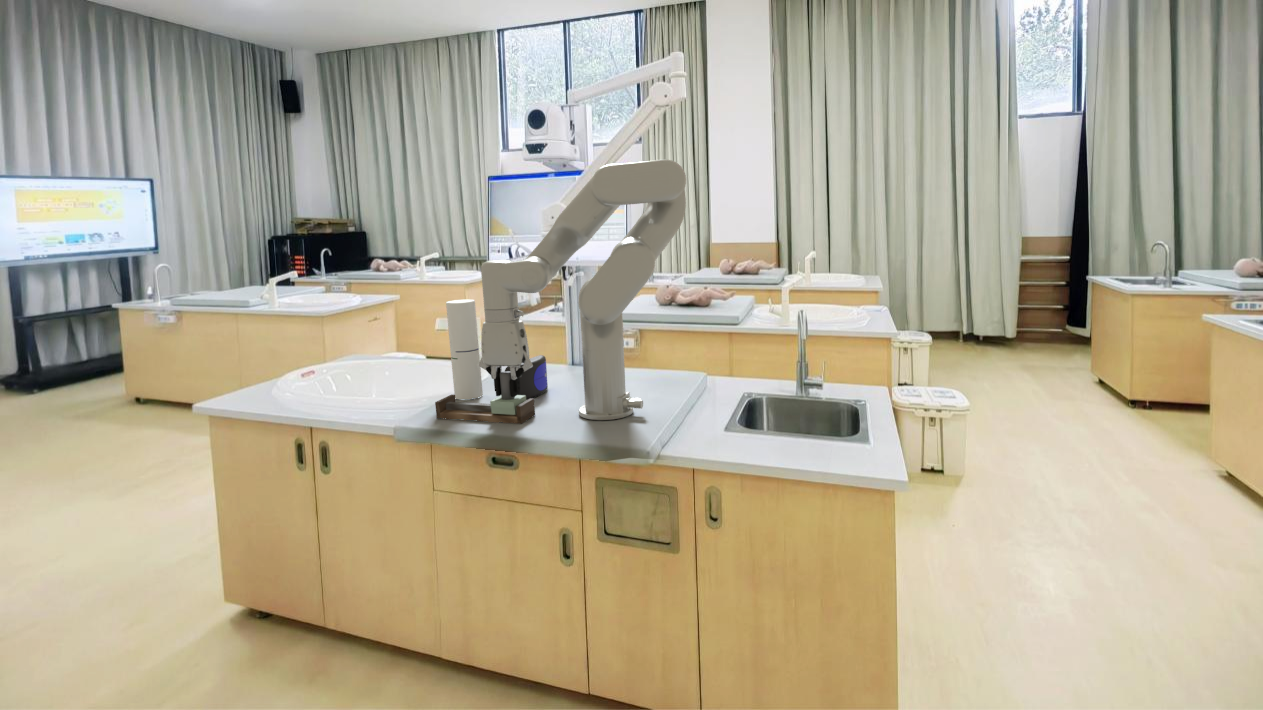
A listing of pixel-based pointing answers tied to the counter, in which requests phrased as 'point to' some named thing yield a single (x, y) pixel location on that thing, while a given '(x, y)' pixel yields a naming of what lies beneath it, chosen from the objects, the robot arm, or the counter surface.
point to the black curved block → (533, 378)
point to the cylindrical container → (464, 348)
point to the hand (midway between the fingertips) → (507, 394)
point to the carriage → (506, 397)
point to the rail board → (481, 411)
